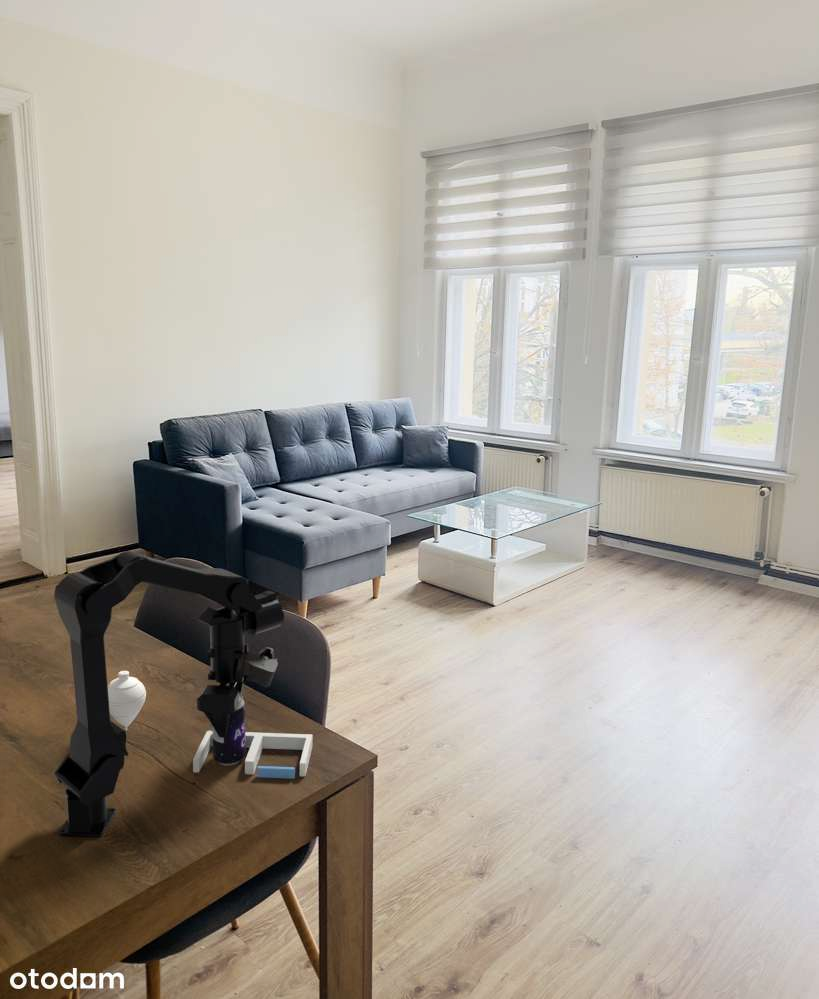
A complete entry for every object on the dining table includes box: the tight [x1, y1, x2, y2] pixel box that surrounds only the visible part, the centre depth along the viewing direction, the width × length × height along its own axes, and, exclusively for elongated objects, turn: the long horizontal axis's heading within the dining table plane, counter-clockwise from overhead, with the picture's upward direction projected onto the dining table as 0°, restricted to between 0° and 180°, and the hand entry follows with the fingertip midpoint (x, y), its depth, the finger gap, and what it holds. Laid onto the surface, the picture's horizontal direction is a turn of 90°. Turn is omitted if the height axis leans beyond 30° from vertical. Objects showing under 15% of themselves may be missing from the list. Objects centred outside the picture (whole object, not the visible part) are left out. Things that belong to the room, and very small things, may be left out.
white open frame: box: [192, 730, 313, 780], centre depth 142 cm, size 10×20×2 cm, turn 90°
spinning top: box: [108, 670, 147, 732], centre depth 149 cm, size 8×8×12 cm
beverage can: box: [211, 693, 246, 767], centre depth 141 cm, size 6×6×12 cm
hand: (228, 723), depth 141 cm, fingers open, 9 cm apart
